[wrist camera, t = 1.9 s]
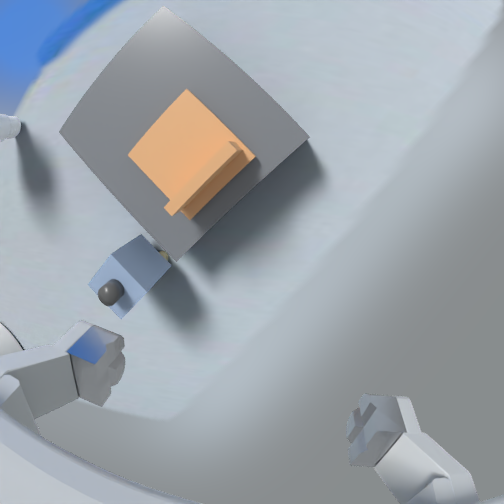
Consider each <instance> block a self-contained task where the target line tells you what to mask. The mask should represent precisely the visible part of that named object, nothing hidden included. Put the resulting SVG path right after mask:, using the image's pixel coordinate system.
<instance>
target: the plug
mask: <svg viewBox="0 0 504 504" xmlns="http://www.w3.org/2000/svg"><path fill="white" fill-rule="evenodd" d="M171 266H172V265H171V264H170V263H169V262H168V254H167V253H166V252H165V251H159V252H158V251H157V250H156V249H155V248H154V247H153V246H152V245H151V244H150V243H149V242H148V241H147V240H146V239H145V238H144V236H143V235H142V234H141V235H139V236H138V237H136V238H134V239H133V240H131V241H130V242H128V243H127V244H125V245H124V246H122V247H121V248H119V249H118V250H116V251H115V252H113V253H112V254H111V255H110V256H109V257H108V259H107V260H106V261H105V262H104V264H103V265H102V266H101V268H100V269H99V270H98V272H97V273H96V274H95V276H94V277H93V278H92V280H91V281H90V282H89V284H88V285H89V286H90V288H91V289H92V290H93V291H94V292H95V293H96V294H97V295H98V297H99V299H100V301H101V302H102V303H103V304H104V305H106V306H108V307H109V308H110V309H111V310H112V311H113V312H114V313H115V314H116V315H117V316H118V317H119V318H120V319H122V318H123V317H124V316H125V315H126V314H127V313H128V312H129V311H130V310H131V309H132V307H133V306H134V305H135V304H136V303H137V302H138V301H139V300H140V299H141V298H142V297H143V296H144V295H145V294H146V293H147V292H148V291H149V290H150V289H151V288H152V287H153V285H154V284H155V283H156V282H157V281H158V280H159V279H160V278H161V277H162V276H163V275H164V274H165V272H166V271H167V270H168V269H169V268H170V267H171Z"/></svg>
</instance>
